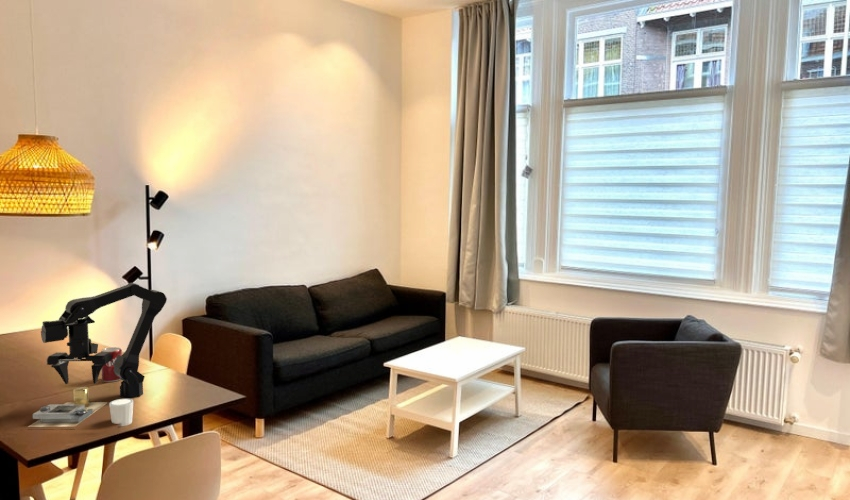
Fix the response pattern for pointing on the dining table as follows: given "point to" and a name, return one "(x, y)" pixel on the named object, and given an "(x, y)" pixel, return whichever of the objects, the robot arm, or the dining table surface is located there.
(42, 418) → the square frame with knobs
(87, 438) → the dining table surface
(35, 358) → the dining table surface
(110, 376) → the soda can
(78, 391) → the pin
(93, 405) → the board
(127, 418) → the white short tapered cylinder
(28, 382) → the dining table surface
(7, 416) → the dining table surface
